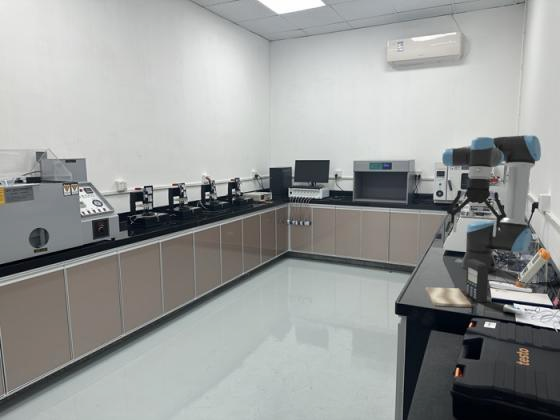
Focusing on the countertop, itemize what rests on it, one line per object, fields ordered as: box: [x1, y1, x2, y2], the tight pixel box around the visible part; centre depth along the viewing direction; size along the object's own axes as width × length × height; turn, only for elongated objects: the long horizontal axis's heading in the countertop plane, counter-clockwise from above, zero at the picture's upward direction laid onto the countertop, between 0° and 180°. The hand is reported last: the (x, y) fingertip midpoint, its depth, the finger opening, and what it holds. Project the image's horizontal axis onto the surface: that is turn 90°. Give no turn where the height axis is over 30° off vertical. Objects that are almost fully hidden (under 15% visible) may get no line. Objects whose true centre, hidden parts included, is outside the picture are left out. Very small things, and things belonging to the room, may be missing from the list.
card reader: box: [465, 259, 489, 303], centre depth 150 cm, size 9×4×15 cm, turn 5°
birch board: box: [425, 286, 472, 308], centre depth 153 cm, size 13×18×1 cm
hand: (473, 234), depth 148 cm, fingers open, 13 cm apart
